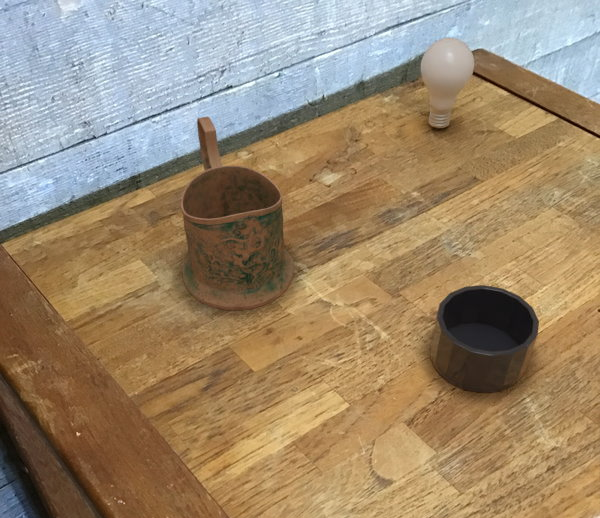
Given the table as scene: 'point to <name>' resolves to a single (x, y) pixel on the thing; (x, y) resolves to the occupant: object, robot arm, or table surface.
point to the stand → (483, 338)
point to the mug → (233, 233)
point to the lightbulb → (445, 76)
